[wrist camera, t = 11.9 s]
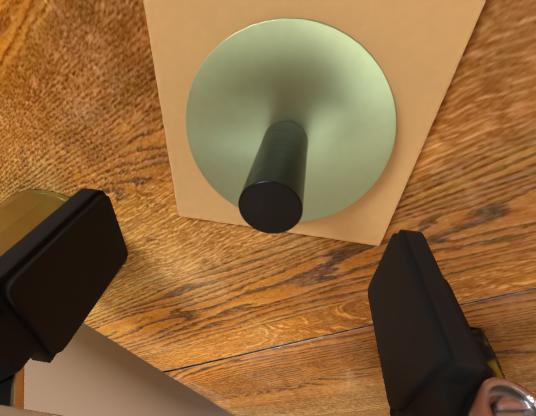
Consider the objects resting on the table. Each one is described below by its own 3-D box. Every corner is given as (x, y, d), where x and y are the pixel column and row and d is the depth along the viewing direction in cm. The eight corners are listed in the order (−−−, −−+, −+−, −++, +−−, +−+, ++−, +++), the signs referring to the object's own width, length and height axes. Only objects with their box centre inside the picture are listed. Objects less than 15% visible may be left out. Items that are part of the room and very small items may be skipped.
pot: (39, 266, 31) (-38, 341, 24) (-16, 180, 24) (-143, 251, 18) (135, 283, 30) (83, 364, 24) (106, 198, 24) (21, 279, 17)
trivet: (180, 211, 23) (178, 216, 23) (140, -51, 13) (134, -53, 13) (378, 240, 22) (379, 246, 22) (490, -24, 12) (497, -25, 12)
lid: (200, 200, 21) (152, 281, 15) (181, 5, 14) (76, 13, 8) (360, 222, 20) (377, 318, 14) (428, 28, 13) (522, 55, 7)
